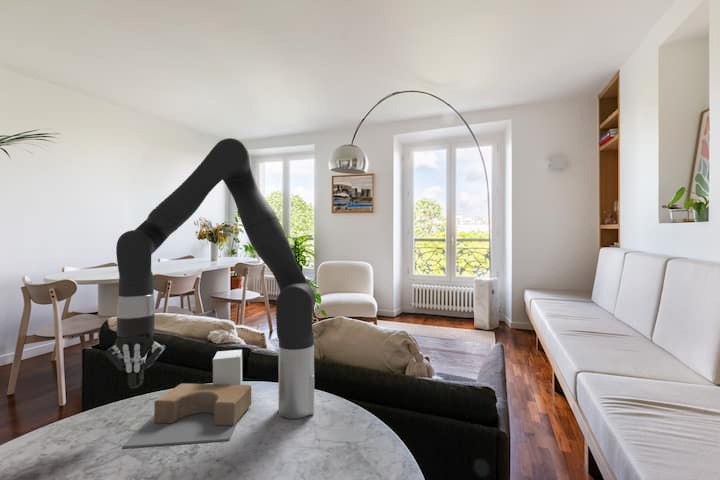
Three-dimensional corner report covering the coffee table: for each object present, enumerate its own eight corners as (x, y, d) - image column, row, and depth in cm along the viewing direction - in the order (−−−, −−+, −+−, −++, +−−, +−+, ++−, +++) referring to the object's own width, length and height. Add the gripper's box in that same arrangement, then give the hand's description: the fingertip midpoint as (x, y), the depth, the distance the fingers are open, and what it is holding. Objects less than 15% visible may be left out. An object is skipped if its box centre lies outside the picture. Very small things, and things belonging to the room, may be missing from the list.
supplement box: (242, 391, 100) (243, 348, 101) (240, 402, 93) (240, 356, 93) (216, 394, 98) (216, 350, 99) (211, 405, 91) (212, 358, 92)
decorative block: (152, 424, 81) (233, 426, 79) (153, 400, 81) (233, 402, 80) (180, 403, 92) (251, 406, 90) (181, 382, 92) (251, 384, 91)
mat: (244, 406, 90) (244, 405, 90) (229, 440, 74) (229, 438, 74) (158, 412, 88) (158, 410, 88) (122, 448, 72) (122, 446, 72)
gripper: (172, 310, 85) (171, 379, 84) (115, 311, 83) (114, 382, 83) (158, 316, 77) (157, 391, 77) (95, 317, 76) (94, 395, 75)
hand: (135, 386), depth 80 cm, fingers closed
